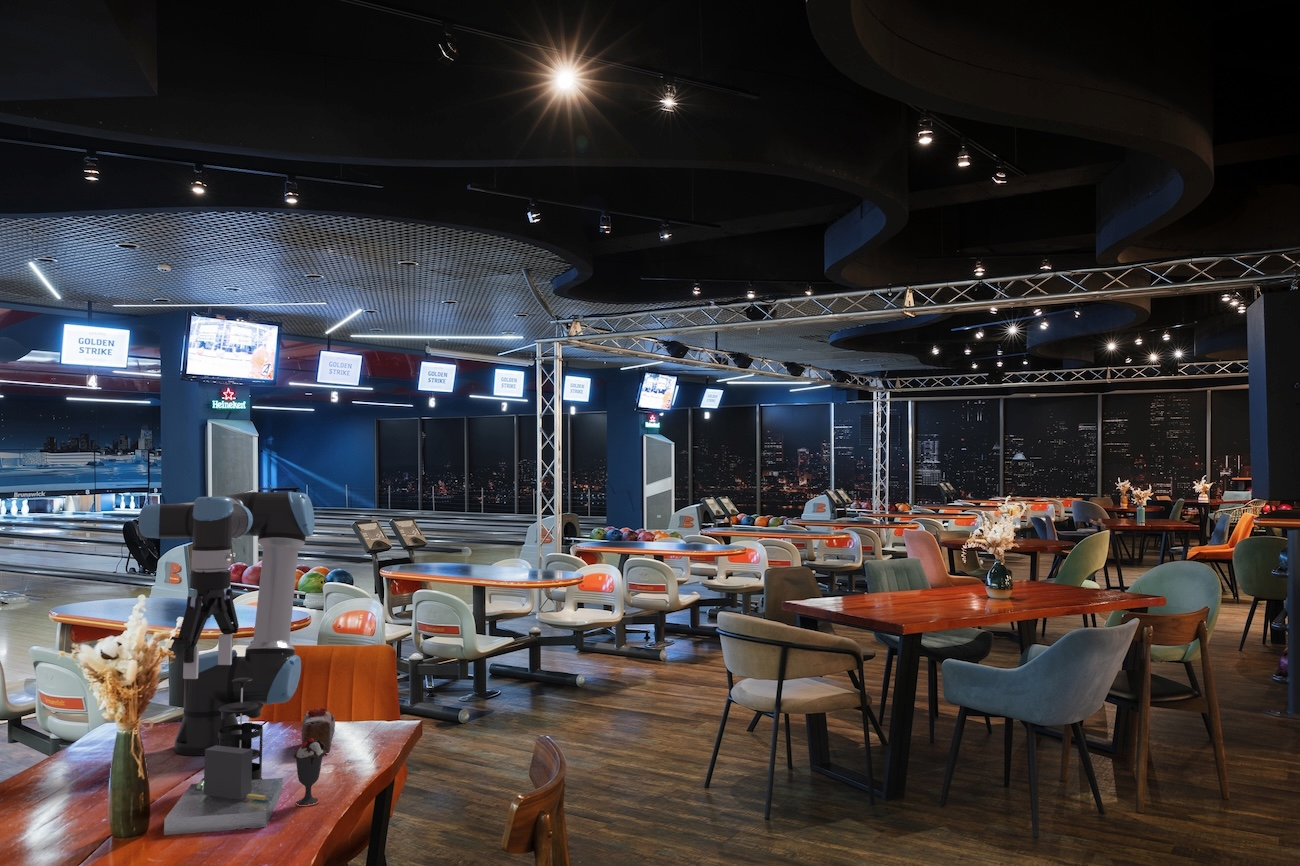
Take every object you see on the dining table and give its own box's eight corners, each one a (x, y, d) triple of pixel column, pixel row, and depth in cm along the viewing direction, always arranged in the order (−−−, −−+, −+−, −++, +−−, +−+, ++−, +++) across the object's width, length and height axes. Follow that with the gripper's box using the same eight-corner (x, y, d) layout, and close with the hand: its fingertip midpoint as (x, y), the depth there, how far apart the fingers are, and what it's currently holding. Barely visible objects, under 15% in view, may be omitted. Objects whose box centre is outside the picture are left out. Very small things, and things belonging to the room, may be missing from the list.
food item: (300, 742, 232) (301, 703, 233) (333, 739, 235) (334, 700, 236) (300, 758, 220) (301, 716, 220) (335, 754, 222) (336, 713, 223)
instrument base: (191, 798, 192) (191, 775, 192) (282, 792, 196) (282, 769, 196) (163, 835, 172) (164, 809, 172) (265, 827, 176) (266, 802, 177)
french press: (255, 791, 196) (258, 683, 197) (209, 793, 195) (212, 684, 196) (268, 773, 208) (271, 671, 209) (224, 775, 206) (227, 672, 207)
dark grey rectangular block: (203, 794, 184) (204, 749, 184) (214, 789, 187) (215, 745, 187) (259, 802, 180) (260, 755, 181) (269, 796, 183) (271, 751, 183)
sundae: (292, 810, 185) (294, 735, 186) (289, 800, 191) (291, 727, 192) (327, 805, 188) (328, 731, 189) (322, 795, 194) (324, 723, 195)
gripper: (196, 576, 180) (193, 685, 179) (256, 564, 205) (254, 659, 204) (159, 576, 180) (156, 684, 179) (224, 563, 205) (221, 658, 204)
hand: (208, 671), depth 192 cm, fingers open, 13 cm apart
